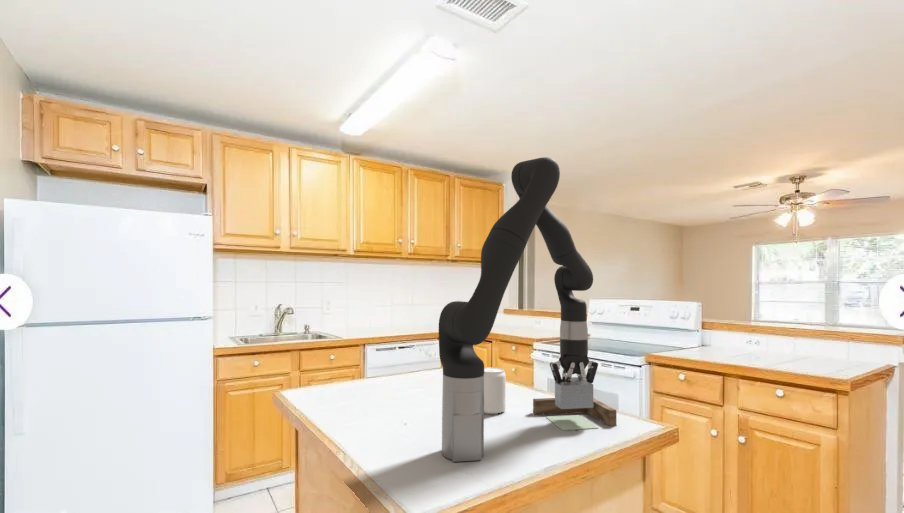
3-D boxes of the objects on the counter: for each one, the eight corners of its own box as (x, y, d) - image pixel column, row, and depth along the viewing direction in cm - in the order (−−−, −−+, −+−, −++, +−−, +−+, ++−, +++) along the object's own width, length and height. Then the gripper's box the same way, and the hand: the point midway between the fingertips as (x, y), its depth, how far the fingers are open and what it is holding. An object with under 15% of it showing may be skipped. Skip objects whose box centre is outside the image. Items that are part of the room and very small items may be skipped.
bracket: (593, 407, 116) (593, 384, 117) (561, 409, 115) (561, 385, 115) (577, 398, 125) (577, 377, 126) (547, 399, 124) (547, 378, 124)
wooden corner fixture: (616, 425, 118) (616, 410, 118) (552, 428, 115) (552, 413, 115) (590, 410, 132) (590, 396, 132) (533, 412, 128) (533, 398, 129)
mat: (598, 428, 115) (598, 427, 115) (562, 430, 114) (562, 429, 114) (578, 415, 126) (578, 415, 126) (545, 417, 124) (545, 416, 124)
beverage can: (506, 415, 126) (507, 372, 126) (478, 415, 126) (478, 372, 126) (504, 407, 134) (504, 367, 134) (477, 406, 134) (477, 366, 135)
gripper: (590, 334, 129) (591, 394, 128) (544, 335, 126) (544, 396, 125) (604, 338, 122) (604, 401, 121) (555, 339, 119) (555, 404, 118)
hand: (574, 398), depth 123 cm, fingers closed on bracket, 4 cm apart
